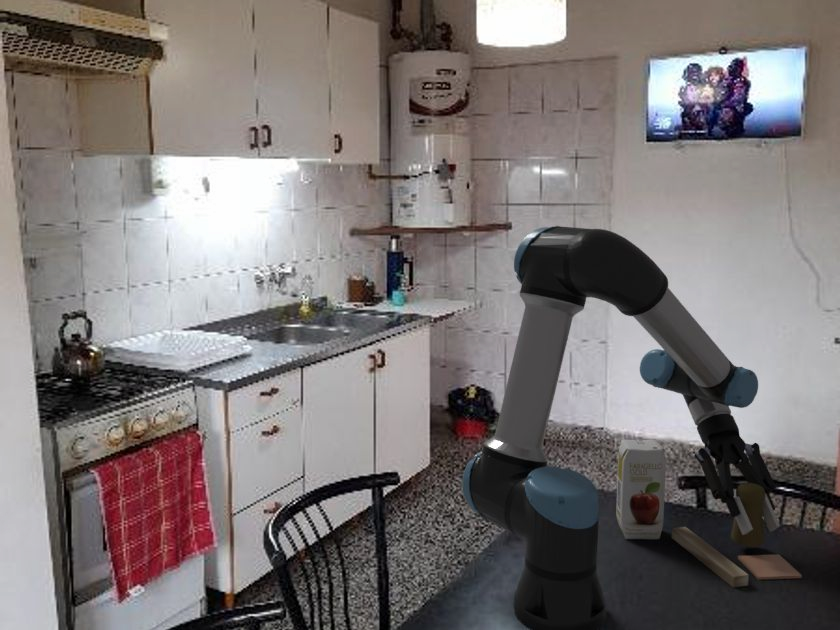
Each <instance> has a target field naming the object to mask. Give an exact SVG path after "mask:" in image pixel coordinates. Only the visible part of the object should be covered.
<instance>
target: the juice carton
mask: <svg viewBox="0 0 840 630" xmlns="http://www.w3.org/2000/svg"><path fill="white" fill-rule="evenodd" d="M617 458H618V459H617V482H616V483H617V486H616V487H617V488H616V510H615V511H616V513H615V514H616V515H615V516H616V520H617V523H618V526H619V528H620V531H621V532H622V535H623V538H625V540H660V538H661V534H662V531H663V527H664V516H665V515H664V514H665V496H666V495H665V493H666V489H665V487H666V473H667V472H666V470H667V469H666V468H667V467H666V465H667V464H666V463H667V460H666V453H665V449H664V447H662V446H661V444H660V443H659V441H658V440H656V439H643V440H635V439H624V438H623V439H621V441H620V446H619V449H618V457H617Z"/></svg>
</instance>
